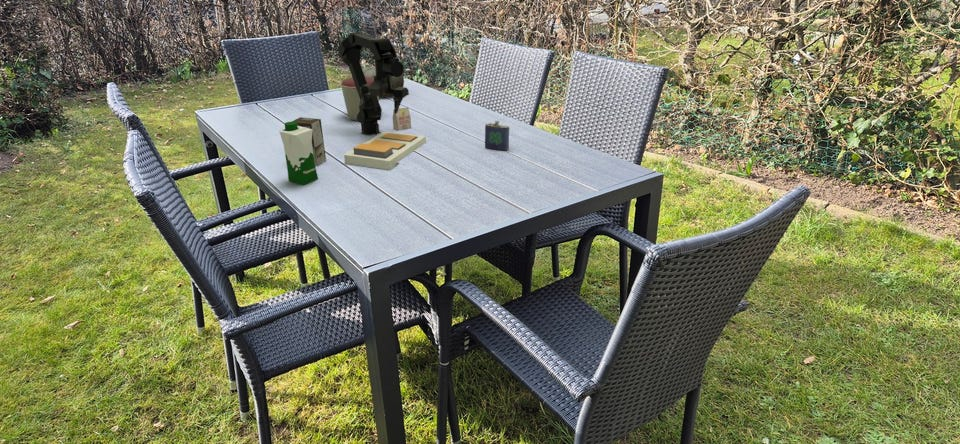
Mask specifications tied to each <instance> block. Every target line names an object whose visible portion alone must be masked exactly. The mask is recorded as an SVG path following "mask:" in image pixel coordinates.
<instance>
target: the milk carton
mask: <svg viewBox="0 0 960 444" xmlns="http://www.w3.org/2000/svg"><path fill="white" fill-rule="evenodd" d="M312 131H313V129H309V128H306V127H301V126H297V122H292V121H286V122H284V129H281V130H279V135H280V138H281V141H282V144H283V150H284V156H285V162H286V168H287V175H288V176H287V177H288V178H287V179H288V182H291V183H295V184H297V185H300V186H304V185H306V184H309V183H312V182H314V181H317V180H318V179H319V177H318V173H317V169H316V167H317V166H315V162H314V155H313V147H312Z"/></svg>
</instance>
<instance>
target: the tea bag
mask: <svg viewBox="0 0 960 444" xmlns="http://www.w3.org/2000/svg"><path fill="white" fill-rule="evenodd" d="M411 120H412V118H411V112H410V110H409V107H408V106H407V107H406V106H405V107H399V109H398V112H397V113H395V110H394V109H393V114H392V127H393V130H395V131H398V132H399V131H404V130H408V129H409V130H410V129H412V121H411Z"/></svg>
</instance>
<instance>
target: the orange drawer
mask: <svg viewBox="0 0 960 444" xmlns="http://www.w3.org/2000/svg"><path fill="white" fill-rule="evenodd" d="M369 144H373V145H381V146H389V147H392V149H394V150H400V149H401V148H403V147H404V146H405V143H397V142H389V141H381V140H374V141H373V142H371V143H369Z"/></svg>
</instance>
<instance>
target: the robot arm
mask: <svg viewBox="0 0 960 444" xmlns="http://www.w3.org/2000/svg"><path fill="white" fill-rule="evenodd" d="M337 48H338V49H337V52H338V55H339V56H340V59H341V60H342V62H343V63H344V64H345V65H347V67H348V68H349V69H348V70H349V72H350V75H351V77H352V78H353V80H354V83H355V86H356V89H357V92H358V95H359V97H360V104H359V110H360V111H359V113H358V115H357V122H358V123H360V126H361V133H362V134H364V135H367V136H368V135H369V136H371V135H379V134H380V126H379V125H380V124H379V123H378V121H381V120H382V119H381V118H382V114H383V113H382V111H383V109H382V107H381V104H380V100H379V101H378V99H377V96H381V95H382V93H390V94H393V95H392V96H393V97H392V100H393V104H394V106H393V107H394V108H393V111H394V110H395V113H397V112H398V109H399V108H400V106H401V104H402V101H403V99H404V98H406V97H407V96H409V95H410V93H409V89H408V88H407V87H404V86H403V87H398V88H396V89H392V88H393V85H392V84H391V77H393V76H394V77H400V76H401V75H403V74H404V72H405V68H404V65H403V63H402V62H401V61H400V59H399V57H398V54H397V51H396V49H395V48H394V46H393V43H392V41H391V40H390V39H389V38H388V37H381V38H379V37H376V38H375V37H373V36H371V35H367V34H363V33H362V32H360V31H359V32H358V31H357V32H351V33H349V34H348V35H347V37H346V38H345V39H344V40H342V41H341V42H340V44H339V46H338V47H337ZM363 48H365V49H368V50H369V52H370V53H371V54H373V56H372V57H371V60H374V67H375V70H376V76H374V82H372V83H371V84H368V83H367V81H366V79H365V76H364V73H363V70H362V69H363V67H362V64H361V58H362V54H361V53H362V52H361V51H362V49H363Z"/></svg>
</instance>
